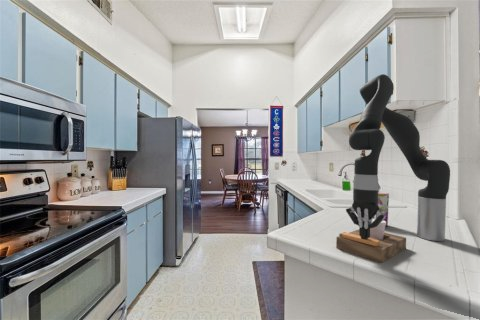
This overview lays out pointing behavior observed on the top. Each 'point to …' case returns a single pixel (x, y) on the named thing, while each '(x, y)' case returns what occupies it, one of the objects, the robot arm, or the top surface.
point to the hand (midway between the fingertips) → (364, 238)
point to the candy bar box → (383, 205)
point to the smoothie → (378, 230)
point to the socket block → (375, 253)
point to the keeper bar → (359, 239)
